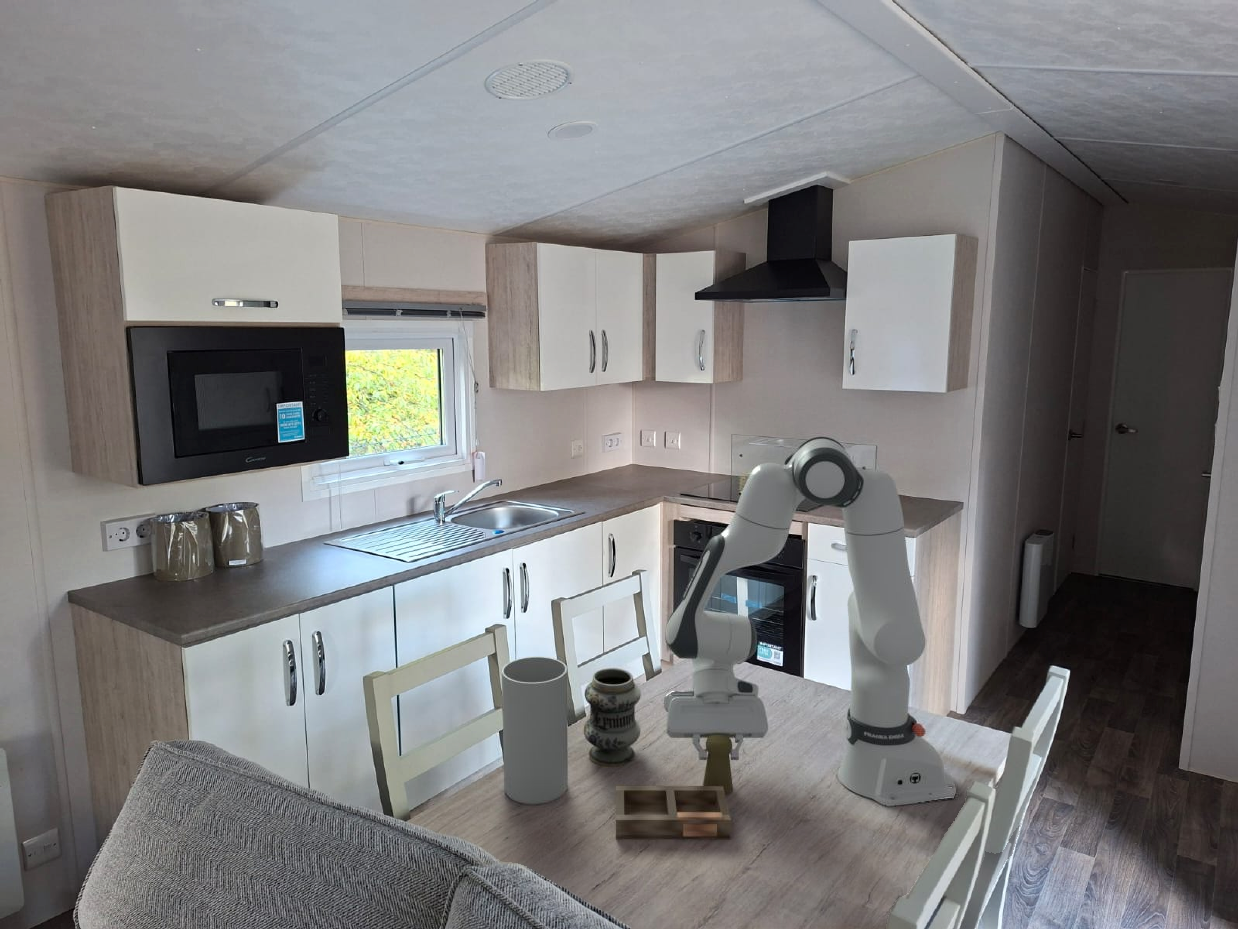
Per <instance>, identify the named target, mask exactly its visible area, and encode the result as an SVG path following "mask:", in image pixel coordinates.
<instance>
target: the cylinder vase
mask: <svg viewBox="0 0 1238 929" xmlns="http://www.w3.org/2000/svg"><path fill="white" fill-rule="evenodd" d="M501 689H502V691H501V694H502V698H501V699H502V703H501V704H502V736H503V738H502V739H503V742H502V743H503V744H502V745H503V746H502V747H503V748H502V749H503V788H504V791H505V794H506V795H507V796H508V797H509V798H510V799H511V800H513V801H515V802H517V803H521V804H524V805H542V804H548V803H551V802H554V801H555V800H557V799H559V798H560V797H561V796H563V795H564V794H565V793H566V791H567V790H568V783H569V778H568V776H569V774H568V771H569V769H568V768H569V767H568V766H569V764H568V763H569V762H568V758H569V757H568V749H569V748H568V667H567V665H566V664H565V663H564V662H562V661H561V660H559V659H556V658H552V657H547V656H527V657H521V658H517V659H514V660H512V661H510V662H507V663H506V664H505V665H504V666H502V668H501Z"/></svg>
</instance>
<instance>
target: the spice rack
mask: <svg viewBox="0 0 1238 929" xmlns="http://www.w3.org/2000/svg"><path fill="white" fill-rule="evenodd" d="M731 827H732V819H731V815H730V810H729V806H728V801H727V796H725V792H724V788H723V786H703V785H615V839H616V840H731V830H732V829H731Z"/></svg>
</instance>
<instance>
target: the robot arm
mask: <svg viewBox="0 0 1238 929" xmlns="http://www.w3.org/2000/svg"><path fill="white" fill-rule="evenodd" d="M805 499H807V500H808V501H810V502H812V503H814V504H818V505H822V506H823V505H824V506H830V507H835V508H840V509H841V513H842V517H843V518H842V519H843V528H844V536H845V537H844V538H845V545H846V546H845V548H846V554H847V557H846V558H847V565H848V570H849V575H850V578H851V582H852V586H853V590H852V592H851V593H850V595H849V596H848V600H847V616H848V642H849V643H848V644H849V656H850V666H851V667H850V669H851V677H850V678H851V682H850V701H849V707H848V709H847V716H846V721H845V735H846V736H845V738H846V742H845V743H846V744H845V748H844V754H843V757H842V760H841V764H840V766H839V769H838V771H837V777H838V780H839V781H840V783H841V784H842V785H843V786H844V787H845V788H846V789H848V790H850V791H851V792H854V793H856V794H858V795H859V796H862V797H866V798H870V799H872V800H873V801H876V802H877V803H879V804H881V805H883V806H885V805H886V806H885V807H894V806H895V805H896V806H903V805H910V804H911V805H912V804H919V803H918V802H921V803H926V802H925V801H930V802H932V801H931V800H935V799H940V798H945V797H954V796H955V794H956V795H957V787H956V784H955V781H954V779H953V778H952V776H951V775H950V774H949V772H948V771H947V770H946V769H945V767H944V763H943V760H942V758H941V756H940V754H939V752H938V751H937V750H936V748H935V747H934V746H933V745H932V744H931V743H930V742H928V741H927V740H926V739H925V738H923V737H924V736H925V735H926V729H925V728H924V727H923V725H922V724H921V723H917V722H918V721H917V720H916V718H915V717H914V716H912V715H911V714H910V713H909V701H910V699H909V698H910V687H911V686H910V685H911V681H910V676H909V670H908V666H910V665H912V664H914V663H915V662H916V661H917V660H919V659H920V658H921V656H922V654H923V653H924V651H925V647H926V637H925V632H924V628H923V625H922V621H921V620H922V619H921V617H920V610H919V605H918V602H917V596H916V592H915V587H914V583H913V579H912V576H911V575H912V574H911V571H910V566H909V560H908V550H907V542H906V541H907V540H906V539H907V538H906V531H905V522H904V514H903V509H902V503H901V498H900V496H899V492H898V488H897V485H896V483H895V480H894V478H893V477H892V476H891V475H890V474H889V473H887V472H884V471H882V470H879V469H864V470H863V469H860V468H857V467H856V466H855V465H854V462H853V461H852V458H851V456H850V455H849V453H848V452H847V450H846V449H845V448H844V446H843V445H842V444H841V443H840V442H839V441H837V440H835V439H834V438H830V437H827V436H817V437H816V436H815V437H812V438H809V439H807V440H806V441H805V442H803V443H802V444H801V445H800V446H799V447H797V448H796V449H795V450H794V452H792V453H791V454H790V455H789V456H788V457H787V458H786V459H785V461H784V464H781V463H780V464H779V463H777V462H776V463H775V462H765V463H761V464H759V465H757V466H755V467H754V468H753V469H752V470H751V472H750V474H749V476H748V478H747V480H746V482H745V484H744V487H743V489H742V490H741V494H740V495H739V499H738V501H737V505H736V509H735V512H734V515H733V517H732V519H731V521H730V522H729V524H728V525H727V527H726V528H725V529H724V530H723V531H722V532H721V533H720V534H718V535H715V536H713V537H711V539H710V540H709V542H708V543H707V545H706V547H705V548H704V551H703V552H702V554H701V556H700V558H699V560H698V562H697V565H695V569H694V570H693V573H692V574H691V577H690V579H689V581H688V583H687V586H686V588H685V590H684V592H683V595H682V596H681V599H680V600H679V602H678V603H677V606H676V607H675V609H674V610H673V611H672V613H671V614H670V616H669V618H668V621H667V624H666V627H665V633H664V634H665V636H664V637H665V638H664V639H665V643H666V645H667V646H668V648H669V650H670V651H671V652H672V653H673V654H674V655H675V656H676V657H678V658H679V659H683V660H684V659H686V660H691V662H692V664H693V665H692V666H693V671H692V674H691V677H692V678H691V679H692V680H691V682H692V690H681V691H680V690H671V692H669V693H667V694H666V695H665V696H664V699H663V701H664V702H663V704H664V705H663V707H664V710H665V711H666V712H667V715H666V716H667V719H666V734H667V736H668V737H669V738H671V739H691V742H692V744H693V746H694V748H695V749H696V751H697V752H698V761H707V757H708V752H707V750H706V748H703V747H702V746H701V744H700V741H701V739H707V738H708V737H709V736H710V735H713V734H724V735H726V736H728V737H729V738H730V739H734V743H735V744H736V746H735V748H732V751H731V753H730V754H729V756H730V761H739V759H740V753H739V752H740V751H739V750H740V748H741V746H742V744H743V742H744V739H763V738H765V736H766V735H767V733H768V732H769V722H768V717H767V713H766V709H765V705H764V702H763V701H762V700H761V698H760V697H759V686H758V685H757V684H755V683H753V682H751V681H750V682H749V681H746V680H743V679H739V678H737V677H736V675H735V672H734V666H735V665H742V663H745V662H746V661H747V660H749V659H750V658H751V657H752V656H753V655H754V654H755V653H756V651H757V647H758V635H757V633H758V632H757V630H756V626H755V625H754V623H753V621H752V620H751V619H750V617H748V616H745V615H742V614H737V613H736V614H735V613H729V612H719V611H718V612H717V611H711V610H705V609H706V606H707V604H708V602H709V600H710V597H711V595H712V594H713V591H714V589H715V587H716V585H717V583H718V581H719V580H720V579H721V578H722V577H723V576H725V575H726V574H728V573H729V572H731V571H734V570H737V569H741V568H745V567H750V566H756V565H760V564H762V563H766V562H768V561H770V560H771V559H773V558H775V557H777V555H779V554H780V552H781V551H782V550H783V548H784V547H785V545H786V541H787V539H788V537H789V533H790V529H791V526H792V523H793V518H794V517H795V516H794V515H795V512H796V510H797V508H798V506H799V505H800V504H801V503H802V501H804V500H805ZM949 787H952V788H949ZM955 797H956V796H955ZM896 806H895V807H896Z"/></svg>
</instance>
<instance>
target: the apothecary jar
mask: <svg viewBox="0 0 1238 929" xmlns="http://www.w3.org/2000/svg"><path fill="white" fill-rule="evenodd" d="M641 695H642V692H641V689H640V687H639V685H638V684H637V683H636V682H635V681H634V676H633V674H632V673H631V672H630V671H628V670H626V669H623V668H616V667H607V668H603V669H599V670H597V671H595V672H594V673H593V675H592V680H591V681H590V682H589V683H588V684H587V686H586V687H585V689H584V699H585V700H586V702H587V704H589V706H590V712H589V714H590V715H589V718H588V719H587V720H586V722H585V723H584V725H583V726H584V727H583V735H584V737H585V740H586V741H587V742H588V743H590V744H591V745H592V747H591V748H590V750H589V752H588V757H589V759H590V760H591V761H592V762H593V763H595V764H597V765H599V766H604V767H621V766H624V765H627V763H628V762H632V761H633V760H634V758H635V757H636V753H635V751H634V749H633V747H631V746H632V745H633V744H635V743H636V742H637V741H638V740H639V738H640V735H641V726H640V724H639V722H638V720H637V719H635V718H636V717H635V715H636V712H635V708H636V705H637V704H638V703H639V701H640V699H641Z"/></svg>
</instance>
